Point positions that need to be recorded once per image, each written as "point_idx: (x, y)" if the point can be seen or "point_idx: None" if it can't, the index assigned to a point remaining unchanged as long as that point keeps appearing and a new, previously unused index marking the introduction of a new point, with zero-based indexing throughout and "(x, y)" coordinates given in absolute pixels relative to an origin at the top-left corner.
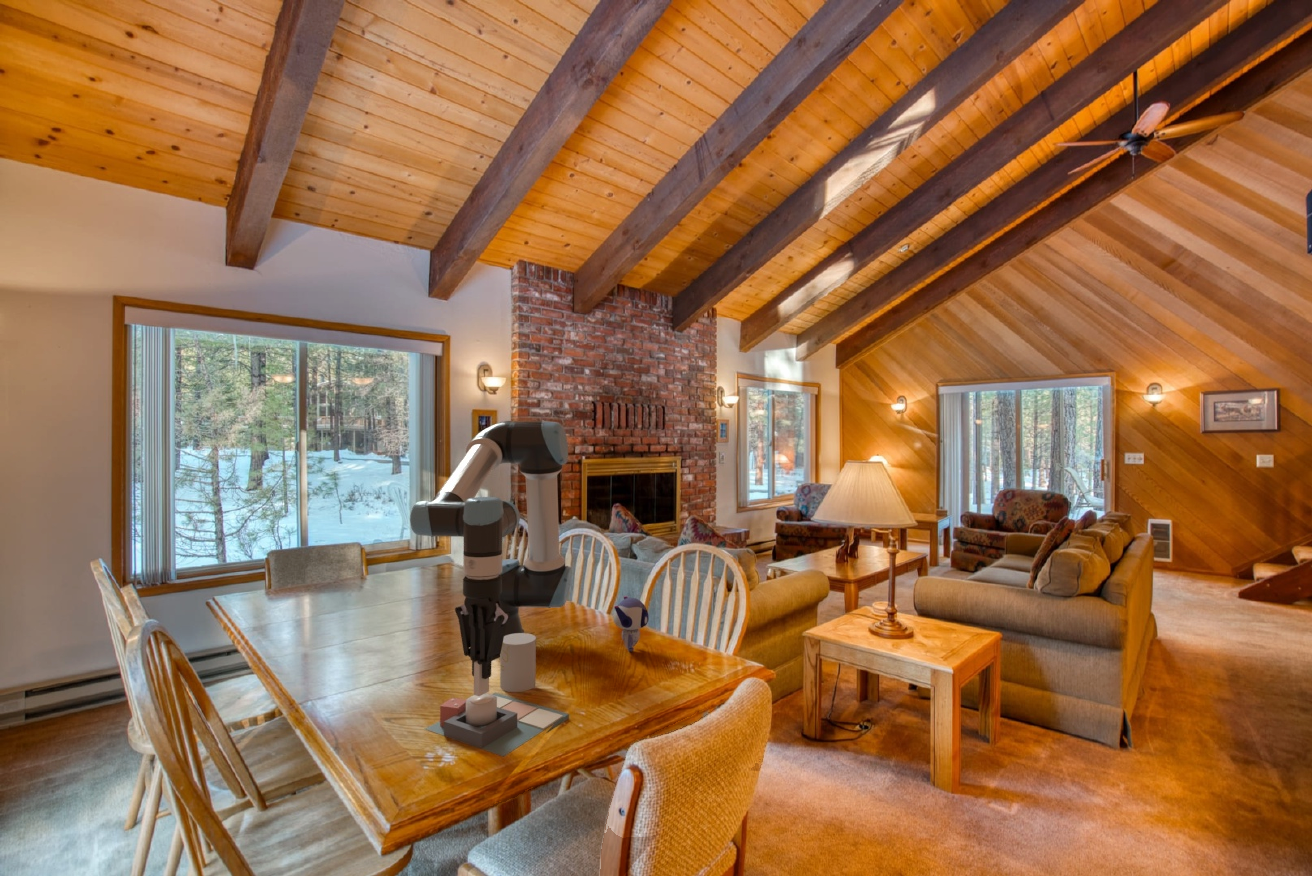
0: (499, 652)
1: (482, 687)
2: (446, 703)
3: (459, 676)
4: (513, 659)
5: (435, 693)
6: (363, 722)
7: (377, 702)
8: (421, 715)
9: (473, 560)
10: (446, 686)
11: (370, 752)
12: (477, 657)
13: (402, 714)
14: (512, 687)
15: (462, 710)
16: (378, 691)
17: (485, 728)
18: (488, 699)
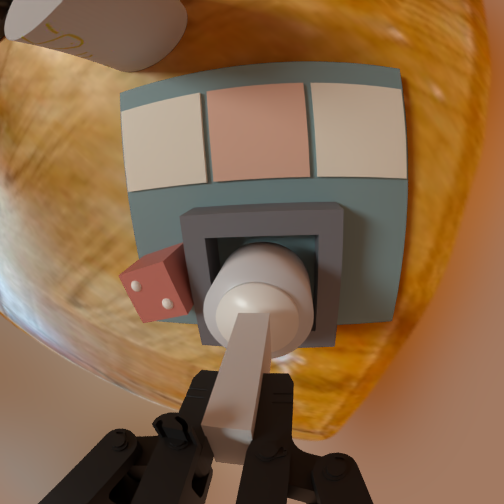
0: (363, 494)
1: (268, 362)
2: (140, 306)
3: (21, 106)
4: (97, 23)
5: (37, 183)
6: (67, 324)
7: (25, 267)
8: (89, 263)
9: None
10: (30, 149)
11: (158, 382)
12: (207, 466)
13: (70, 278)
14: (147, 53)
15: (182, 283)
16: (2, 241)
17: (324, 326)
18: (290, 320)
